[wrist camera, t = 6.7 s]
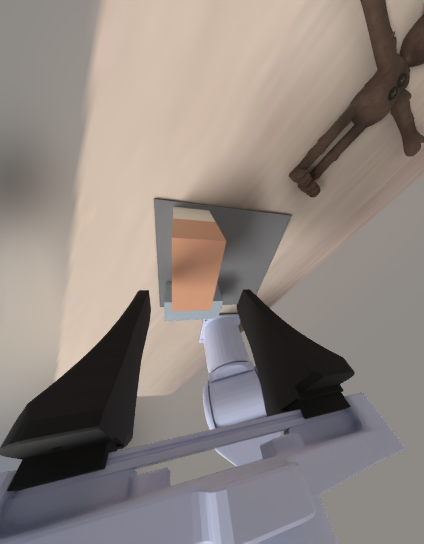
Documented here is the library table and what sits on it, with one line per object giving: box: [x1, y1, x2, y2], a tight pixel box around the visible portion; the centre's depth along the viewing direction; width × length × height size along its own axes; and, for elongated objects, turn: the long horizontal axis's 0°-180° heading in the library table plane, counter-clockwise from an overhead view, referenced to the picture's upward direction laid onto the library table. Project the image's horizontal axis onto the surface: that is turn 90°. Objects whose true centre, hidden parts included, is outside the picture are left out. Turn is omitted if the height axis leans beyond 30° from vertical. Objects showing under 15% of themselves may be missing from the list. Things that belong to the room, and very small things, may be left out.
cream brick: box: [173, 207, 215, 222], centre depth 18 cm, size 8×4×4 cm, turn 171°
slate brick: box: [164, 282, 223, 321], centre depth 24 cm, size 8×4×4 cm, turn 81°
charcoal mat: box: [154, 199, 291, 307], centre depth 23 cm, size 17×17×1 cm
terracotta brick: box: [172, 218, 226, 312], centre depth 15 cm, size 8×4×4 cm, turn 171°
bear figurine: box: [289, 0, 424, 197], centre depth 14 cm, size 18×4×14 cm
